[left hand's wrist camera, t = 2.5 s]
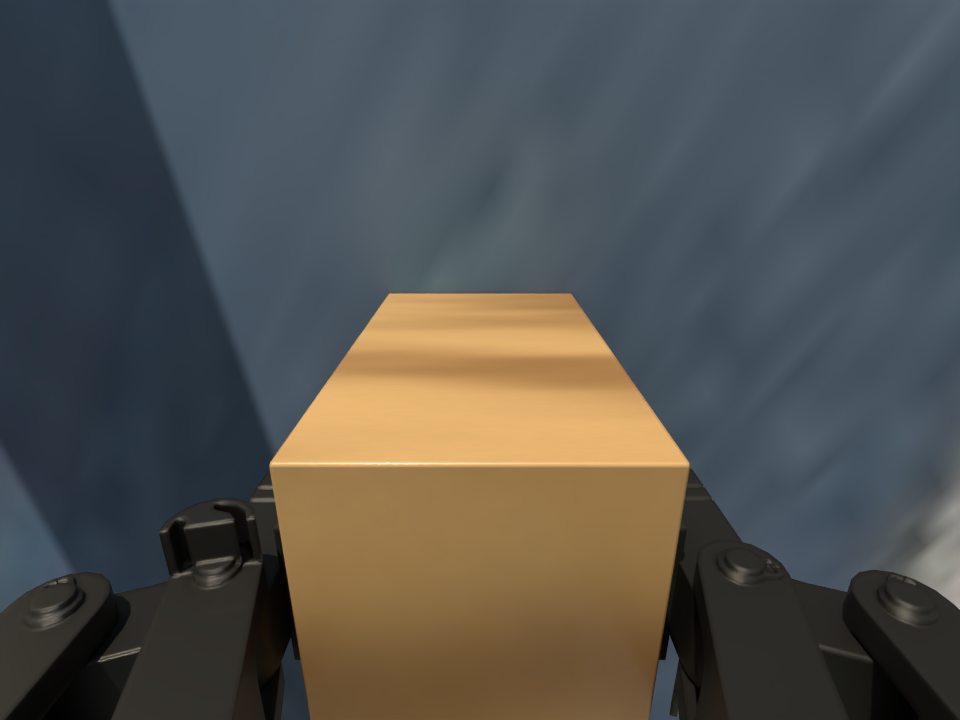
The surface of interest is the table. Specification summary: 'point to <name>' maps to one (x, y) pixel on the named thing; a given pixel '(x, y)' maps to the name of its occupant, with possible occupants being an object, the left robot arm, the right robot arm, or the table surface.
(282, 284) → the table surface
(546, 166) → the table surface
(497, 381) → the bar
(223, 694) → the left robot arm
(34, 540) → the table surface
